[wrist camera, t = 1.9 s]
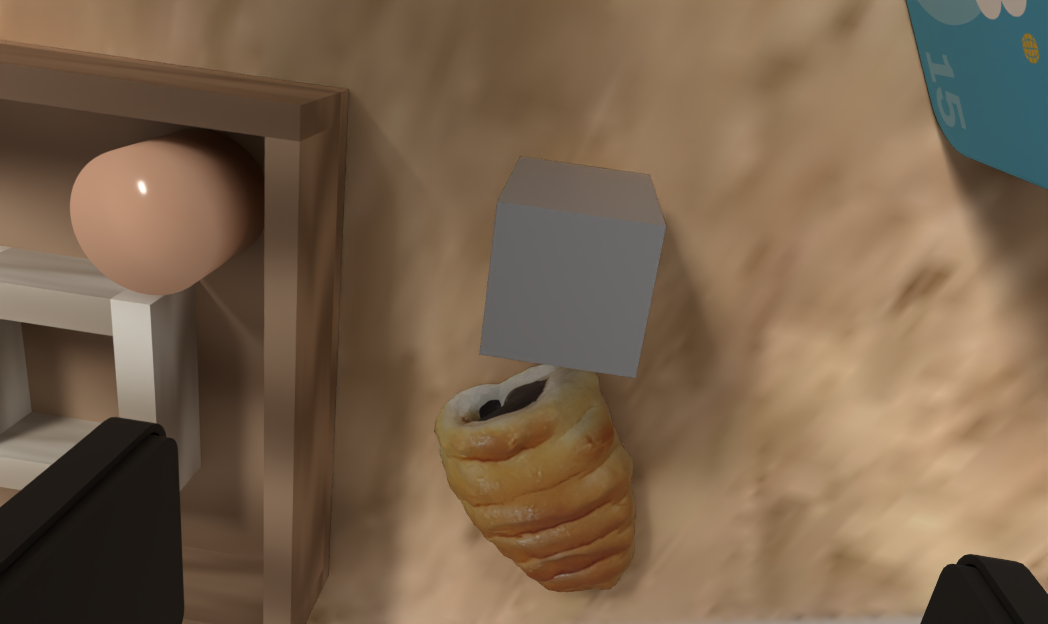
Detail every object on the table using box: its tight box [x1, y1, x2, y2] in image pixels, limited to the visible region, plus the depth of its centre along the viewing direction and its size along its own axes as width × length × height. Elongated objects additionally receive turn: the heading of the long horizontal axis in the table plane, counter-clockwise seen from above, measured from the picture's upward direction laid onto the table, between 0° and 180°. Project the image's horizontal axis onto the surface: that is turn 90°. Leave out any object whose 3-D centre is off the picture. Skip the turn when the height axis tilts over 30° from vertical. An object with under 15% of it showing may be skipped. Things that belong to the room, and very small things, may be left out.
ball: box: [70, 128, 265, 295], centre depth 25 cm, size 4×4×4 cm
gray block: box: [479, 156, 666, 378], centre depth 23 cm, size 4×4×8 cm
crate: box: [0, 40, 349, 624], centre depth 28 cm, size 20×18×4 cm
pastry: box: [434, 364, 636, 592], centre depth 29 cm, size 9×7×4 cm
